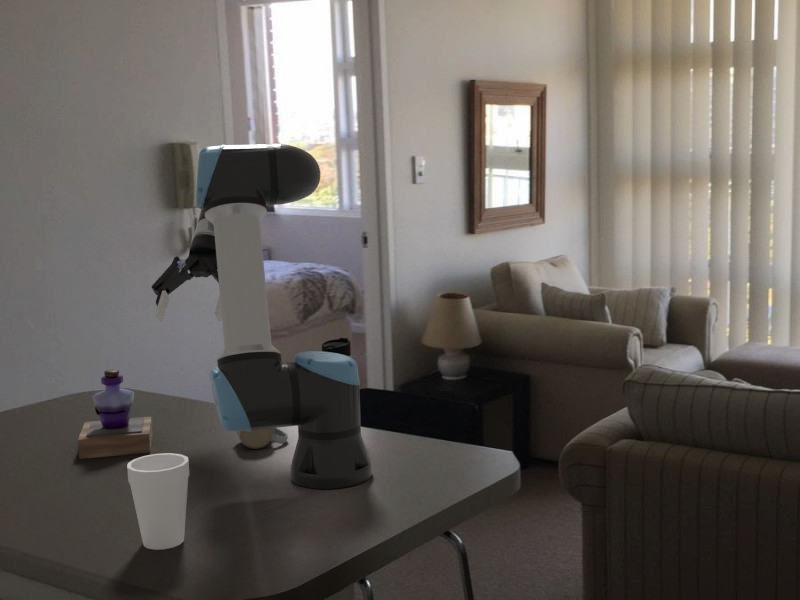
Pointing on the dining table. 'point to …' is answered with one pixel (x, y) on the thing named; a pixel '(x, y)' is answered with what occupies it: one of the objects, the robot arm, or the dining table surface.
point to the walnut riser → (115, 439)
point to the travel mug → (337, 346)
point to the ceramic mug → (261, 437)
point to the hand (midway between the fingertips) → (188, 317)
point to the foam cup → (160, 498)
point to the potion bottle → (113, 402)
